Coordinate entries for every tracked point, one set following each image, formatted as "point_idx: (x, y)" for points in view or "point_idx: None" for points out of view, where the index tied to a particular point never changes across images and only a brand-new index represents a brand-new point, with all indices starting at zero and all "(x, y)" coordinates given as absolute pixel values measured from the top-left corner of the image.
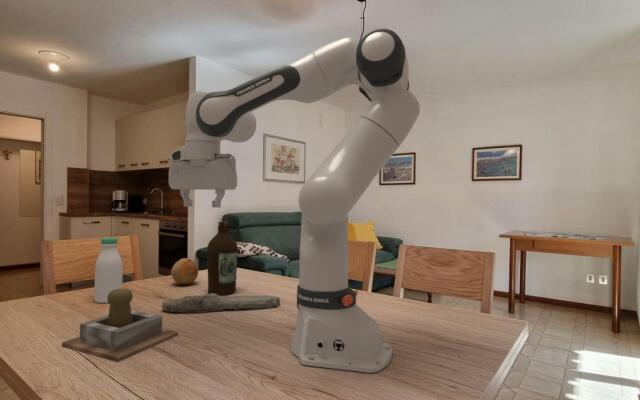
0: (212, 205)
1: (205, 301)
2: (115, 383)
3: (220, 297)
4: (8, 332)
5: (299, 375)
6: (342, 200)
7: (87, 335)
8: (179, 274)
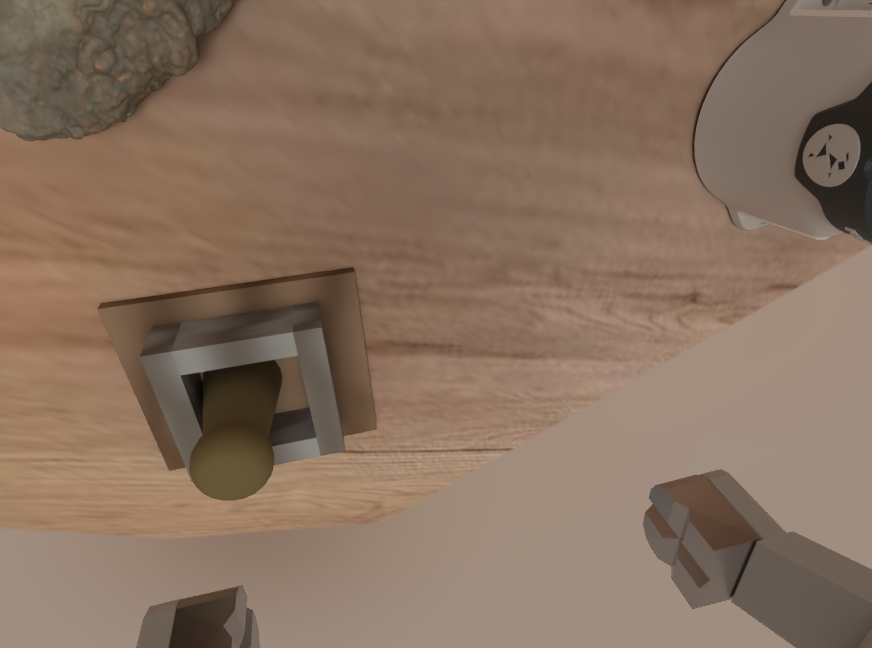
0: (661, 549)
1: (206, 21)
2: (452, 454)
3: None
4: None
5: (738, 264)
6: None
7: None
8: None
